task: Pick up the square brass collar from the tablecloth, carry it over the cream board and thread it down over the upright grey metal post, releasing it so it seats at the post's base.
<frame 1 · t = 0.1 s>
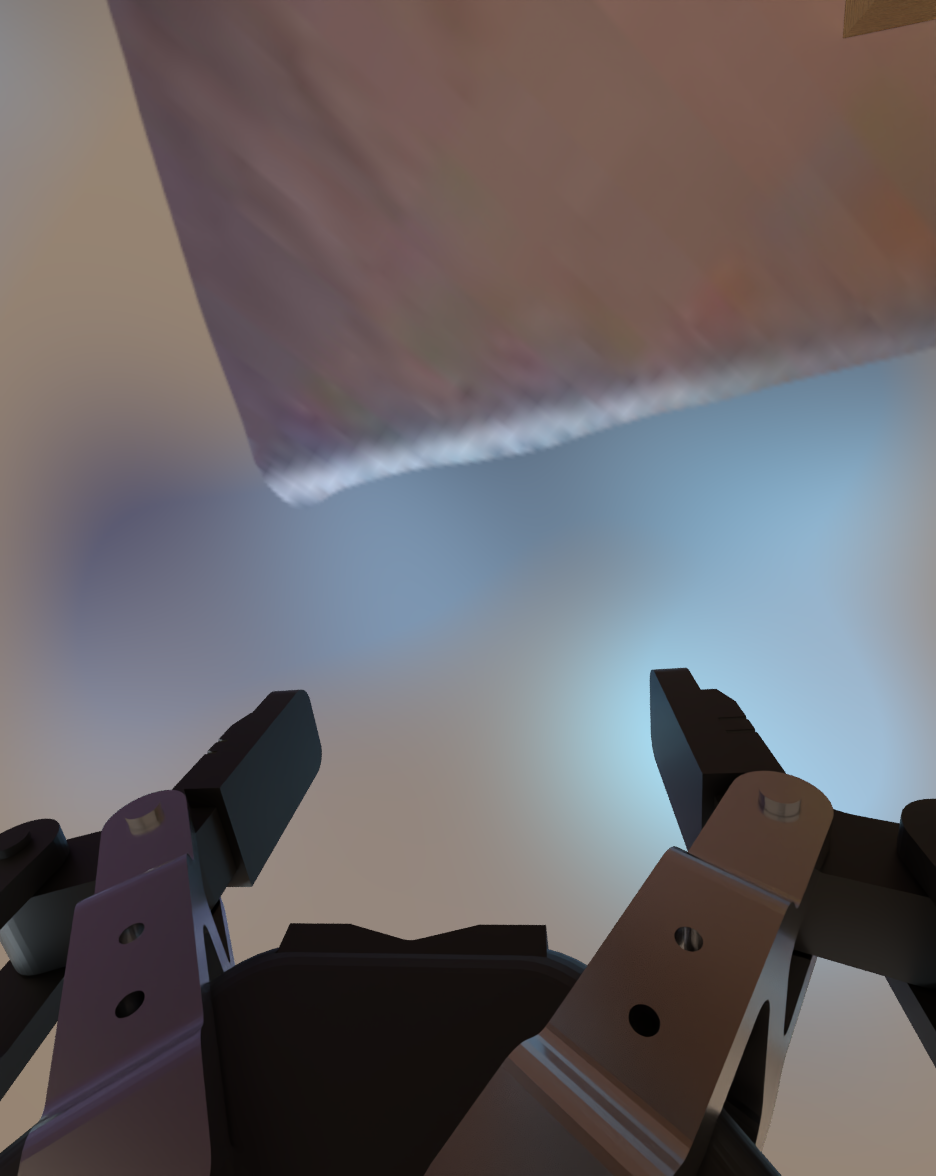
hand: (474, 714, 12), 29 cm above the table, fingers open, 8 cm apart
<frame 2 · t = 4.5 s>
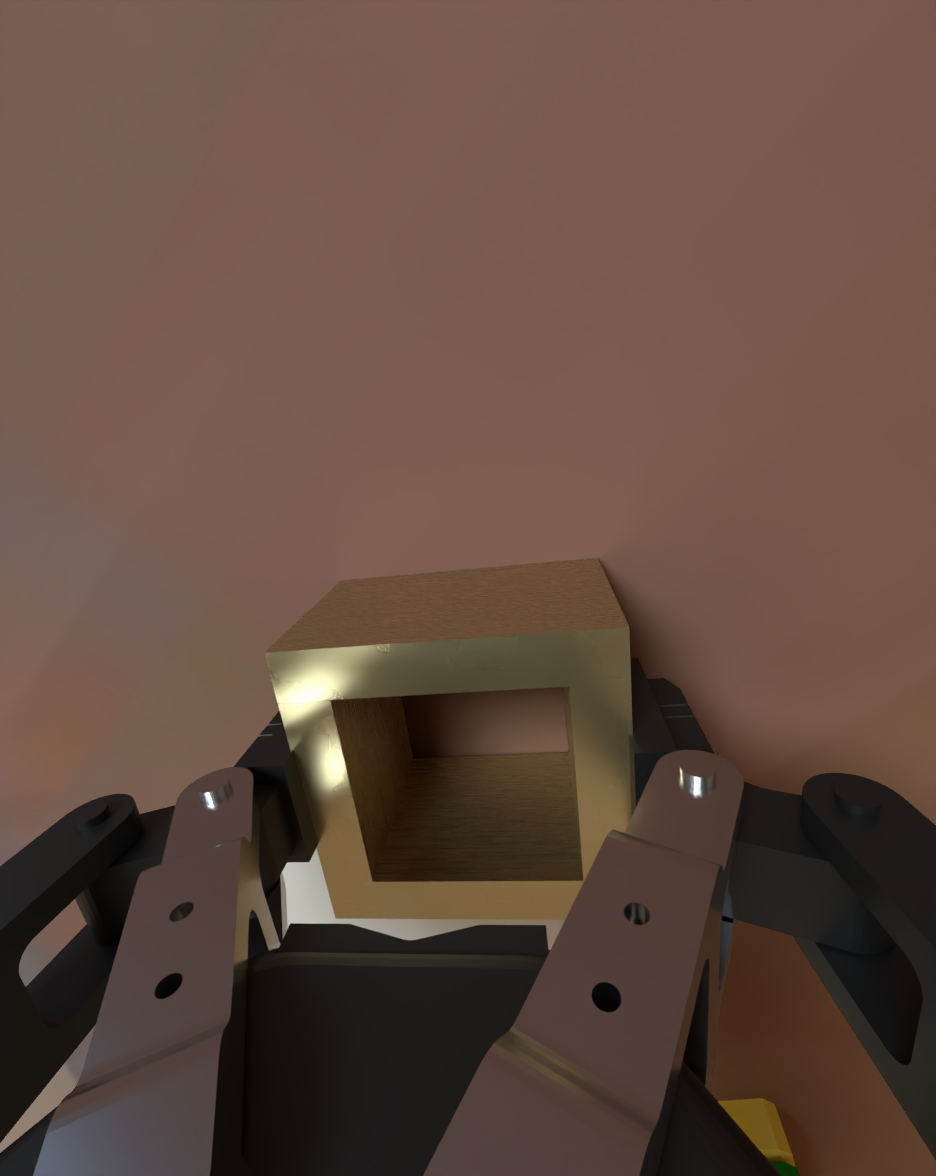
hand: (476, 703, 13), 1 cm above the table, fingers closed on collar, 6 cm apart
dish sponge: (589, 1150, 20), on the table
post board: (394, 965, 17), on the table
collar: (480, 685, 14), on the table, touching gripper
when the fingers open (4 cm above the table, at t = 9.7 s): collar drops 2 cm, resting on post board.
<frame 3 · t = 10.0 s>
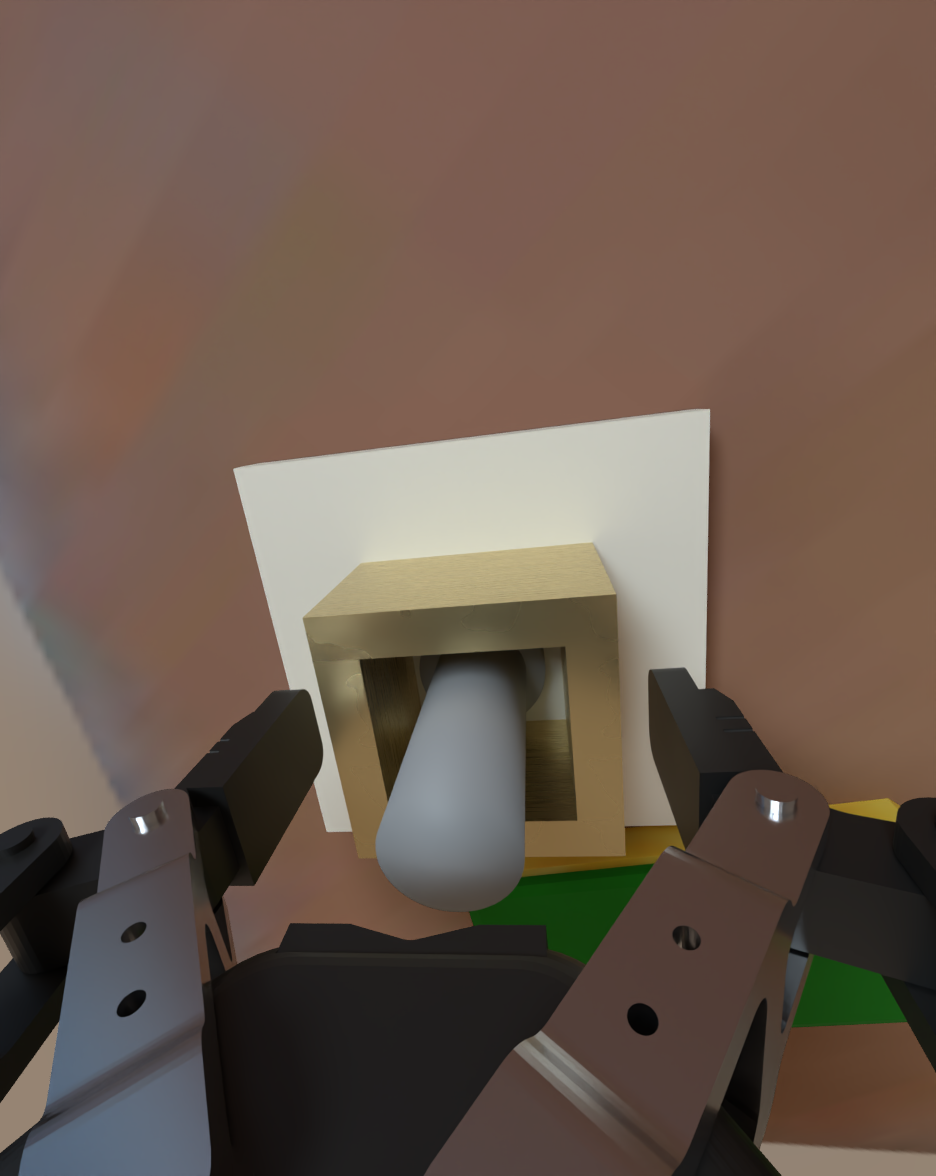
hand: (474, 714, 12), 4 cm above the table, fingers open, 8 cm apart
dish sponge: (677, 888, 19), on the table
post board: (487, 641, 16), on the table
collar: (485, 658, 15), point 1 cm above the table, touching post board
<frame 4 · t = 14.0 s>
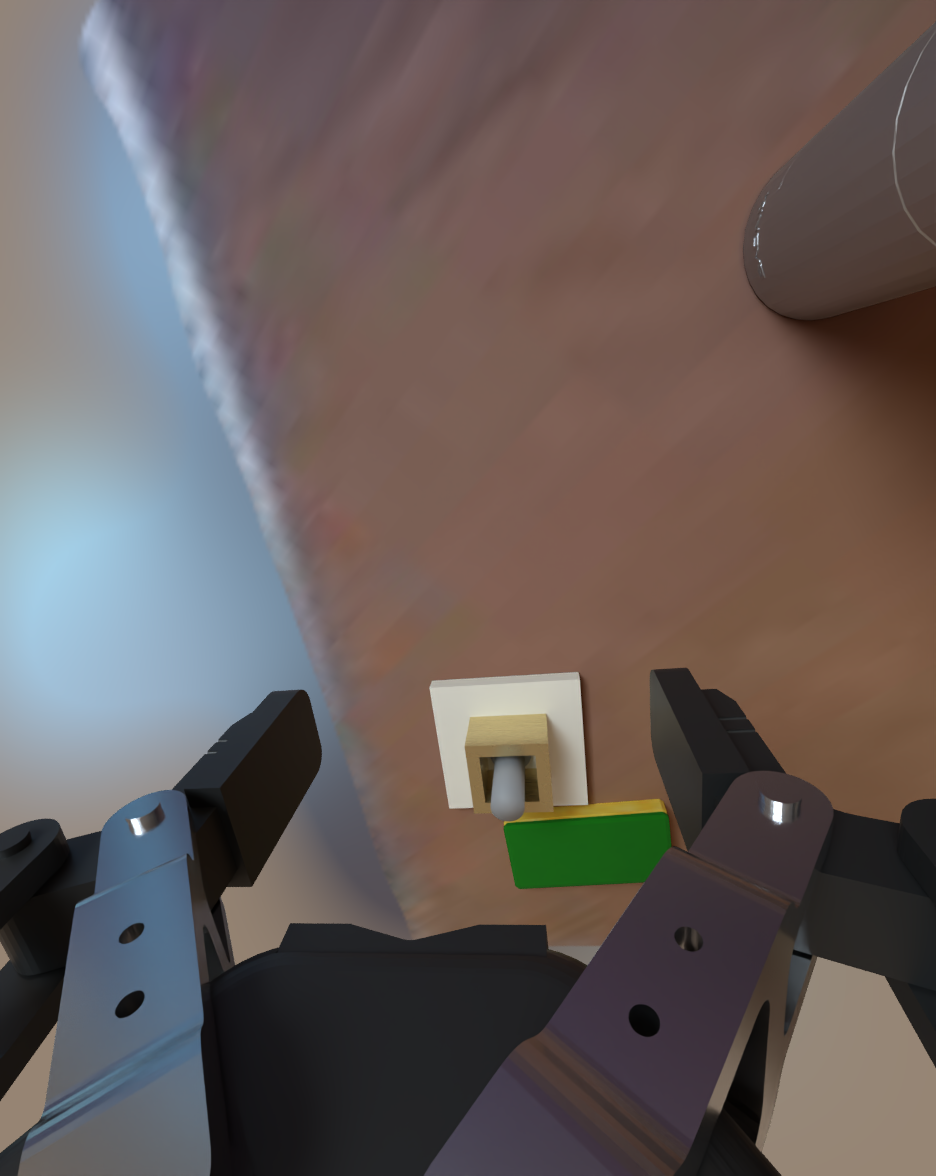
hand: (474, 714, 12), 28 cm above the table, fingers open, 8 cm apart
dish sponge: (585, 831, 48), on the table
post board: (511, 739, 45), on the table
collar: (511, 747, 44), point 1 cm above the table, touching post board
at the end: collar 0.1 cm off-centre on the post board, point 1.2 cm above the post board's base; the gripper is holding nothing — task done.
